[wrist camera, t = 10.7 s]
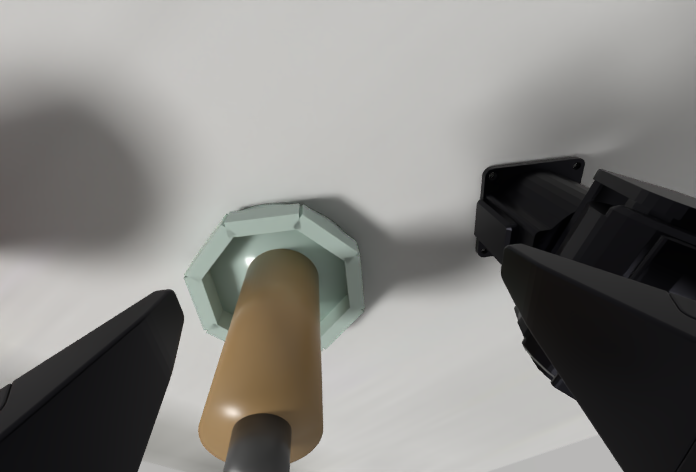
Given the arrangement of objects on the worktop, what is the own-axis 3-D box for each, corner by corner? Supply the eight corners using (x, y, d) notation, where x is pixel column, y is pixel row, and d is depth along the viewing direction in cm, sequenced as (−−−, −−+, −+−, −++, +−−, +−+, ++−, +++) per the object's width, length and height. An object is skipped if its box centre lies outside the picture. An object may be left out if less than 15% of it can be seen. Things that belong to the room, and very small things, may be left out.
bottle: (313, 244, 23) (314, 432, 11) (323, 303, 25) (332, 510, 14) (237, 253, 23) (160, 455, 11) (254, 312, 25) (204, 530, 13)
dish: (351, 193, 22) (355, 206, 20) (364, 324, 27) (368, 344, 25) (178, 214, 22) (165, 229, 20) (224, 342, 27) (217, 365, 25)
